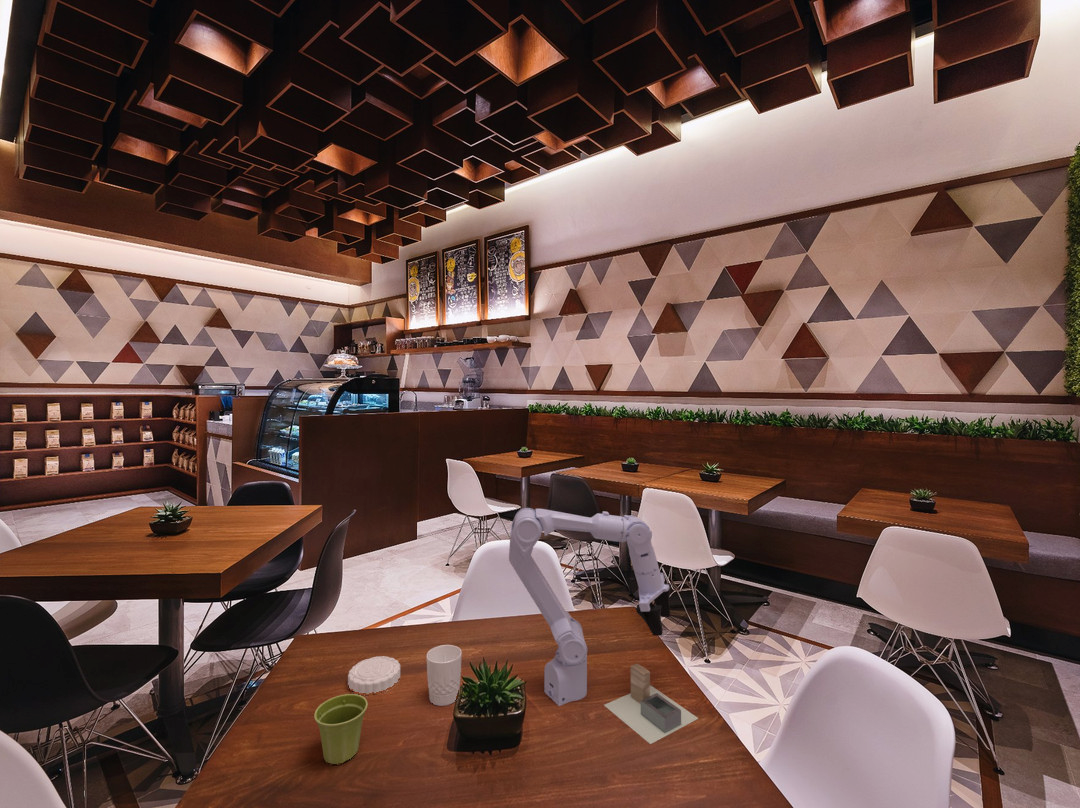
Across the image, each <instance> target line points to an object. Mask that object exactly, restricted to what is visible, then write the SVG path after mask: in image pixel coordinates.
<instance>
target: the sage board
mask: <svg viewBox="0 0 1080 808" xmlns="http://www.w3.org/2000/svg"><path fill="white" fill-rule="evenodd" d="M656 693H657V694H659V695H660V696H662V697H663V698H665V699H666V700H667V701H669V702H670V703H672V704H673V705H675V706H676V707H677V708H679V709H680V710H681V725H680V726H678V727H676V728H674V729H672V730H670V731H668V732H666V733H664V732H662V731H661V730H660V729H659V728H657V727H656V726H655V725H653V724H652V723H651V722H650V721H648V720H647V719H646V718H645V717H643V716H642V715H641V704H639V703H638V702H637V701H636V700H634V699H633V698H632V697H631V692H630V693H628V694H626V695H624V696H621V697H619V698H616V699H614V700H612V701H610V702H607V703H605V704H603V706H604V707H605V708H606V709H608V710H609V711H610V712H611V713H613V715H615V717H617V718H619V719H620V720H621V721H622V722H623V723H624V724H626V725H627V726H628V727H629V728H630V729H631V730H633V731H634V732H635V733H637V735H638V736H639V737H641V738H642V739H643V740H645V741H646V742H647V743H648V744H650V745H652V744H654V743H656V742H658V741H659V740H661V739H662V738H665V737H667V736H669V735H671V734H672V733H674V732H676V731H678V730H680V729H683V727H685V726H688V725H689V724H690V723H693V722H694V721H697V720H699V717H698V716H696V715H694V714H693V713H692V712H690V711H688V710H687V709H685V708H684V707H683V706H682V705H680V704H678V703H677V702H676V701H674V700H673V699H671V698H670V697H668V696H667V695H665V694H664V693H663V692H661V691H660V690H659V689H656V687H654V686H653V685H651V684H650V696H651V695H653V694H656Z"/></svg>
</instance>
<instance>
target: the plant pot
mask: <svg viewBox="0 0 1080 808" xmlns="http://www.w3.org/2000/svg"><path fill="white" fill-rule="evenodd" d="M367 708H368V700H367V698H366V697H365V696H361V695H358V694H353V693H345V694H341V695H336V696H334V697H330V698H329V699H327V700H325V701H324V702H323V703H321V704H319V705H318V707H317V708H316V710H315V712H314V716H313V717H314V720H315V722H316V724H317V727H318V728H319V735H320V741H321V747H322V755H323V759H324V760H325V762H326V763H327V762H328V763H332V764H337V765H339V764H338V763H342V764H343V763H345V762H346V761H350V760H352V759H353V758H354V757H355V756H356V755H357V754H356V752H357V751H359V748H360V746H359V745H360V739H361V731H362V727H363V726H362V725H363V720H364V716H365V714H366V713H365V712H366V711H367ZM357 753H358V752H357ZM355 754H356V755H355ZM354 755H355V756H354ZM353 756H354V757H353ZM352 757H353V758H352ZM351 758H352V759H351ZM349 759H350V760H349ZM328 763H327V764H328ZM332 764H331V765H332Z"/></svg>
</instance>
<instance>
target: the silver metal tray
mask: <svg viewBox="0 0 1080 808" xmlns="http://www.w3.org/2000/svg"><path fill="white" fill-rule="evenodd" d="M641 715H642V716H643V717H645V718H646V719H647V720H648V721H650V722H651V723H652V724H653V725H655V726H656V727H657V728H659V729H660V730H661V731H662V732H664V733H666V732H668V731H670V730H672V729H674V728H676V727H678V726H680V725H681V710H680V709H679V708H677V707H676V706H675V705H673V704H672V703H670V702H669V701H667V700H666V699H665V698H663V697H662V696H660V695H659V694H657V693H656V694H653V695H651V696H649V697H647V698H645V699H643V700H641Z"/></svg>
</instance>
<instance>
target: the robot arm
mask: <svg viewBox="0 0 1080 808" xmlns="http://www.w3.org/2000/svg"><path fill="white" fill-rule="evenodd" d="M555 530H564V531H573V532H574V531H575V532H583V533H590V534H591V536H592V537H593V538H594V539H597V540H603V541H610V542H617V543H624V542H626V543H627V548H628V554H629V557H630V562H631V565H632V569H633V572H634V575H635V579H636V582H637V587H638V596H639V601H638V604H637V605H636V607H635V611H636V613H637V614H638V615H639V616H640V617H641V619H642V620H644V622H645V623H646V625H647V627H648V629H649V630H650V632H651V634H652V635H653V636H660V637H661V636H663V633H664V632H663V625H662V624H663V623H662V618H670V617H671V602H670V598H671V597H670V595H671V589H672V584H671V583H669V582H665V581H666V579H665V575H664V573H663V572H661V570H660V567H659V563H658V560H657V556H656V553H655V549H654V546H653V544H652V537H653V532H652V530H651V529H650V527H649V526H648V524H647V523H645V521H644V520H643V519H642V518H640V517H638V516H635V515H634V514H633V515H632V514H631V515H626V514H624V515H623V516H620V515H612V514H610V513H609V512H608V511H602V512H601V513H596V514H594V515H593V516H591V517H588V516H583V515H578V514H572V513H566V512H562V511H555V510H551V509H546V508H535V509H533V508H532V507H531V508H530V507H523V508H521V509H519V510H518V511H517V512H516V514H515V516H514V517H513V520H512V523H511V526H510V535H509V550H508V551H509V552H508V561H509V563H510V564H511V566H512V567H513V569H514V571H515V573H516V575H517V576H518V578H519V580H520V581H521V583H522V584H523V586H524V588H525V589H526V591H527V592H528V594H529V595H530V597H531V598H532V600H533V602H534V603H535V605H536V607H537V608H538V610H539V611H540V613H541V615H542V616H543V618H544V620H545V622H546V623H547V624H548V626H549V628H550V630H551V633H552V637H553V639H554V641H555V642H556V644H557V646H558V647H557V650H555V656H554V657H553V658H552V659H551V660H550V661H548V662H547V663H546V664H544V676H543V678H544V681H543V682H544V688H543V689H544V691H543V692H544V693H545V695H547V696H548V697H549V698H550V699H551V700H552V701H553V702H554V703H555V704H556V705H557V706H558V707H560V706H563V705H565V704H567V703H570V702H574V701H579V700H582V699H584V698H585V697H586V696H587V694H588V686H587V685H588V655H587V654H588V646H587V644H586V640H585V637H584V632H583V630H584V629H583V627H582V625H581V623H580V622H579V621H578V620H576V619H574V618H573V617H572V616H571V614H570V612H568V610H566V609H565V608H564V606H563V604H562V603H561V601H560V600H559V598H558V597H557V594H556V593H555V591H554V590H553V589H552V587H551V585H550V583H549V581H547V579H546V577H545V576H544V574H543V573H542V571H541V570H540V568H539V566H538V564H537V563H536V561H535V560H534V557H533V556H532V554H533V549H534V547H535V546H536V544H537V543H538V541H539V540H540V538H541V537H542V534H544V537H546V536H548V535H550V534H551V533H553V532H554V531H555ZM542 532H543V533H542ZM653 601H654V603H653Z"/></svg>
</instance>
